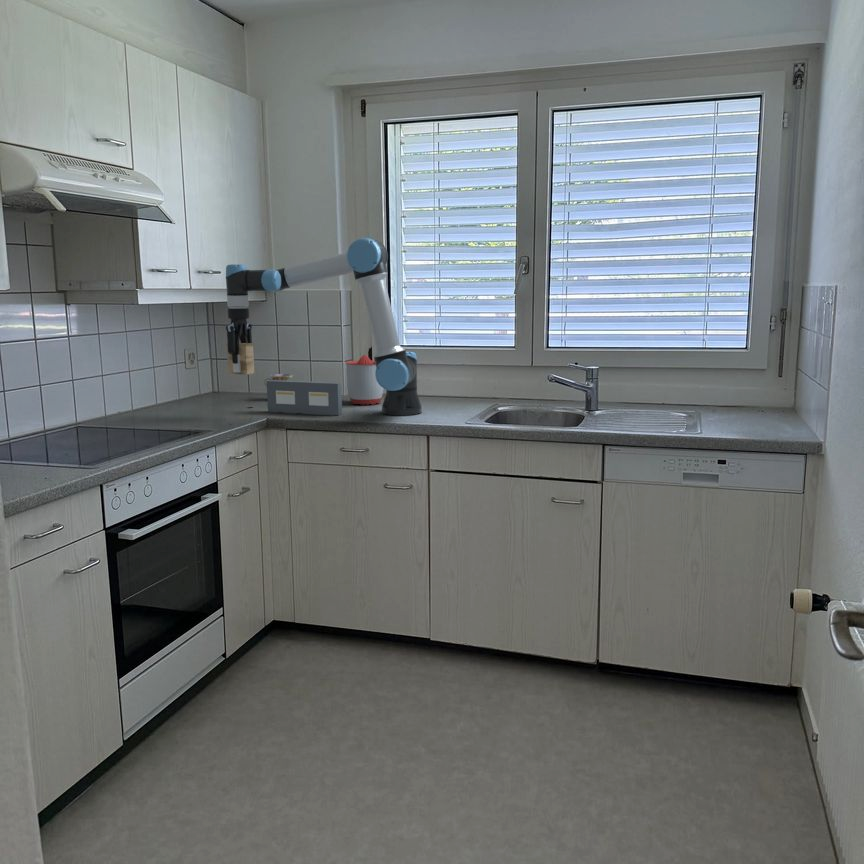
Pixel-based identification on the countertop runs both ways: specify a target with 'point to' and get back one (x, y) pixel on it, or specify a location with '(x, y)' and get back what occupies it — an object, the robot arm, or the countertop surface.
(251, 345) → the oak block
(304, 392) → the panel
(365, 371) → the citrus juicer
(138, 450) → the countertop surface
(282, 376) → the mug
